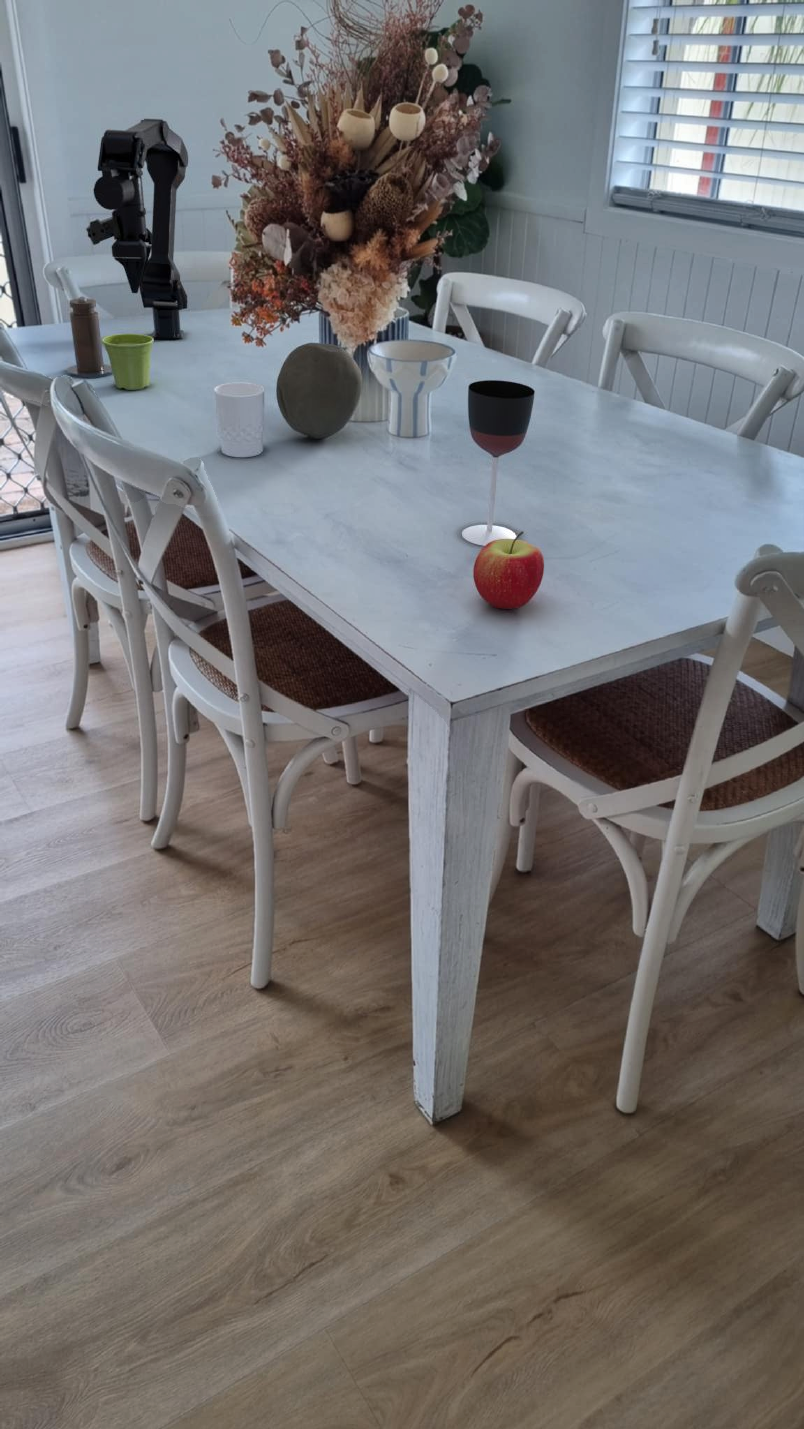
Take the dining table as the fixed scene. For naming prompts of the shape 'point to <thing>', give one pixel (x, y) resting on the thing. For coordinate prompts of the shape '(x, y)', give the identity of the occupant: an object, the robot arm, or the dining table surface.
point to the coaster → (75, 373)
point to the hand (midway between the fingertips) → (137, 288)
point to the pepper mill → (86, 335)
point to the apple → (508, 572)
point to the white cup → (240, 418)
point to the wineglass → (497, 437)
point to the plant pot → (129, 359)
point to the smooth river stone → (318, 389)
